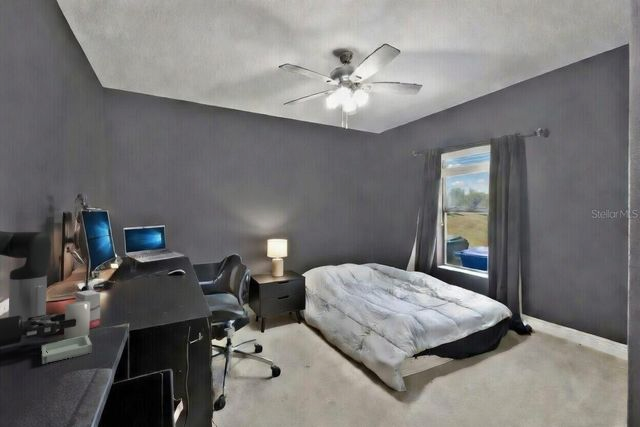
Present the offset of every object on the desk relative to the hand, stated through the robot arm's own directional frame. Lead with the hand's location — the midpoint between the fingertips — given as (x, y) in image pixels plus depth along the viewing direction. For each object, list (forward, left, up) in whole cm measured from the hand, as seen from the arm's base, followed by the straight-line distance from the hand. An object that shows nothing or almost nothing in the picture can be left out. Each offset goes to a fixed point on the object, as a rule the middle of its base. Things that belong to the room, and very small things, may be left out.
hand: (74, 318), depth 89 cm
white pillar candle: (0, +1, -7) cm, 7 cm away
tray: (+10, -2, -7) cm, 12 cm away
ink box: (-13, +5, -7) cm, 15 cm away
